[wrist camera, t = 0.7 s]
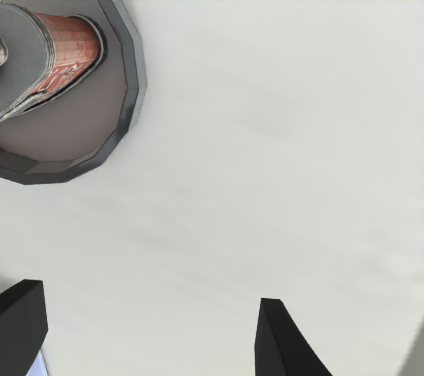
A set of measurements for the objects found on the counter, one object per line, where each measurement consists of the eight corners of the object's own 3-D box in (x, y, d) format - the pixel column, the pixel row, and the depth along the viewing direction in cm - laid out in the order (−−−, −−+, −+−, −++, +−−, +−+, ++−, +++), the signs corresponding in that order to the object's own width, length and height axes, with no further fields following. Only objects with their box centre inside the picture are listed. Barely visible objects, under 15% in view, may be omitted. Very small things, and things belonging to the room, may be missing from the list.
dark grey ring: (-34, 175, 23) (-60, 189, 21) (-103, -45, 19) (-143, -55, 16) (157, 165, 22) (150, 178, 20) (129, -64, 18) (117, -77, 16)
